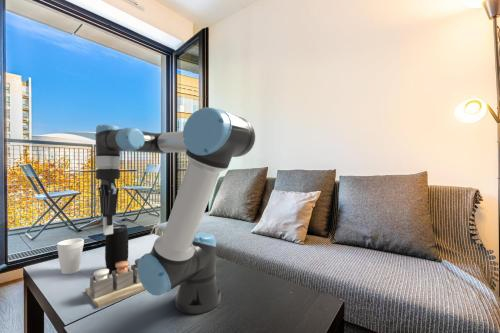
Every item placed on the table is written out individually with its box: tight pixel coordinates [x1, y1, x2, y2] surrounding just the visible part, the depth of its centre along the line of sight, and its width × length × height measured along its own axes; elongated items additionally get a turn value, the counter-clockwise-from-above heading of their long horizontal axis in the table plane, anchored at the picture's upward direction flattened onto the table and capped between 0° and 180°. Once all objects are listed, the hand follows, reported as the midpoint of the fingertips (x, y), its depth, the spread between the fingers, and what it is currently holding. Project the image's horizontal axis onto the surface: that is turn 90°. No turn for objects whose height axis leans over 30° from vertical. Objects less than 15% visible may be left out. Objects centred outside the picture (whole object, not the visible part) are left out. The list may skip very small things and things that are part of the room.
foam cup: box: [56, 237, 85, 275], centre depth 104 cm, size 10×9×13 cm
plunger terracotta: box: [116, 260, 130, 275], centre depth 89 cm, size 5×5×7 cm
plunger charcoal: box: [134, 257, 141, 268], centre depth 94 cm, size 5×5×7 cm
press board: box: [84, 263, 146, 309], centre depth 89 cm, size 15×20×7 cm
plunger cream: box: [93, 268, 110, 282], centre depth 84 cm, size 5×5×7 cm
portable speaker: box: [104, 224, 129, 275], centre depth 105 cm, size 9×9×20 cm
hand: (108, 234), depth 85 cm, fingers closed
